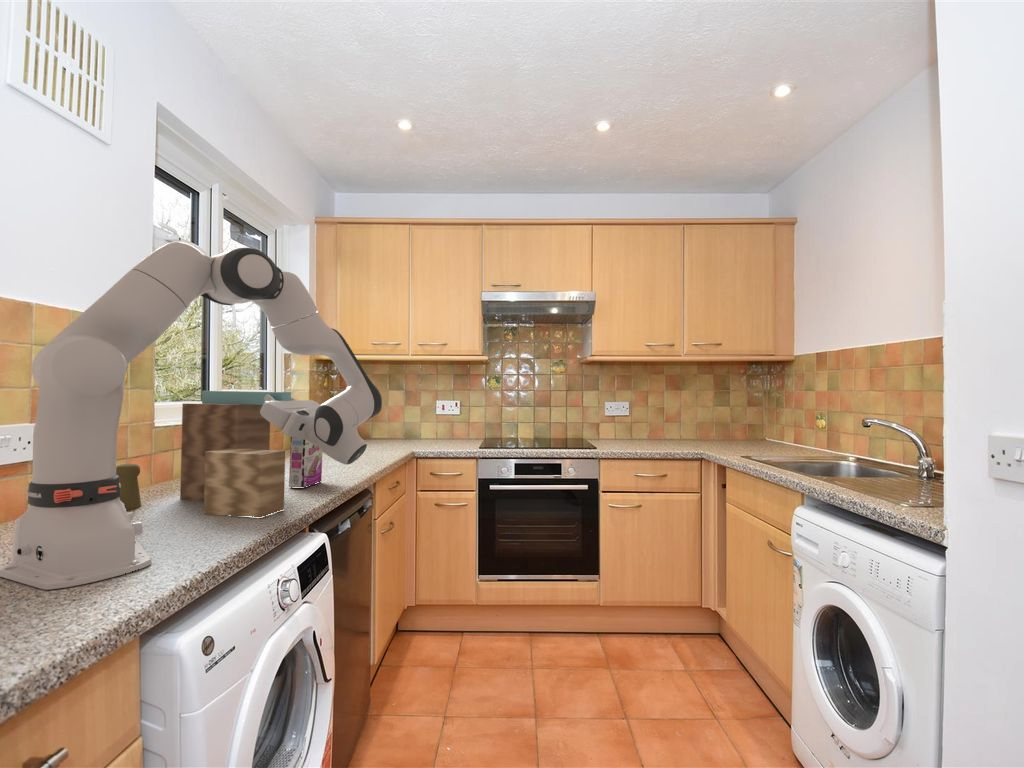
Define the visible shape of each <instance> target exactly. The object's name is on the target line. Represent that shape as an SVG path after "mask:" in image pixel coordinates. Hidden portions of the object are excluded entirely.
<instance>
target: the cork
mask: <svg viewBox="0 0 1024 768" xmlns="http://www.w3.org/2000/svg"><path fill="white" fill-rule="evenodd" d="M140 473H141V466H140V465H139V464H137V463H123V464H119V465H116V475H118V476H119V482H120V485H121V488H120V491H121V496H120V497H119V499H120V501H121V502H122V503H124V507H125V509H126V510H127V511H132V510H131V509H133V510H137V509H136V508H138V509H140V508H139V507H141V508H142V501H141V494H140V487H139V478H138V476H139V475H140Z"/></svg>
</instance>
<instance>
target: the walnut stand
mask: <svg viewBox="0 0 1024 768" xmlns="http://www.w3.org/2000/svg"><path fill="white" fill-rule="evenodd" d="M262 406H263V405H249V404H209V403H202V402H195V403H194V402H188V403H187V402H186V403H182V407H181V408H182V411H181V415H182V417H181V418H182V419H181V448H180V449H181V451H180V452H181V455H180V494H179V496H180V497H179V498H180V499H179V500H182V501H183V500H186V501H196V502H204V486H205V452H207V451H214V450H221V449H228V448H240V449H260V450H271V448H270V445H271V444H270V443H271V442H270V441H271V423H270V422H269V421H267V420H266V419H265V418H264V417H262V415H261V414H260V410H261V408H262Z"/></svg>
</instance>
